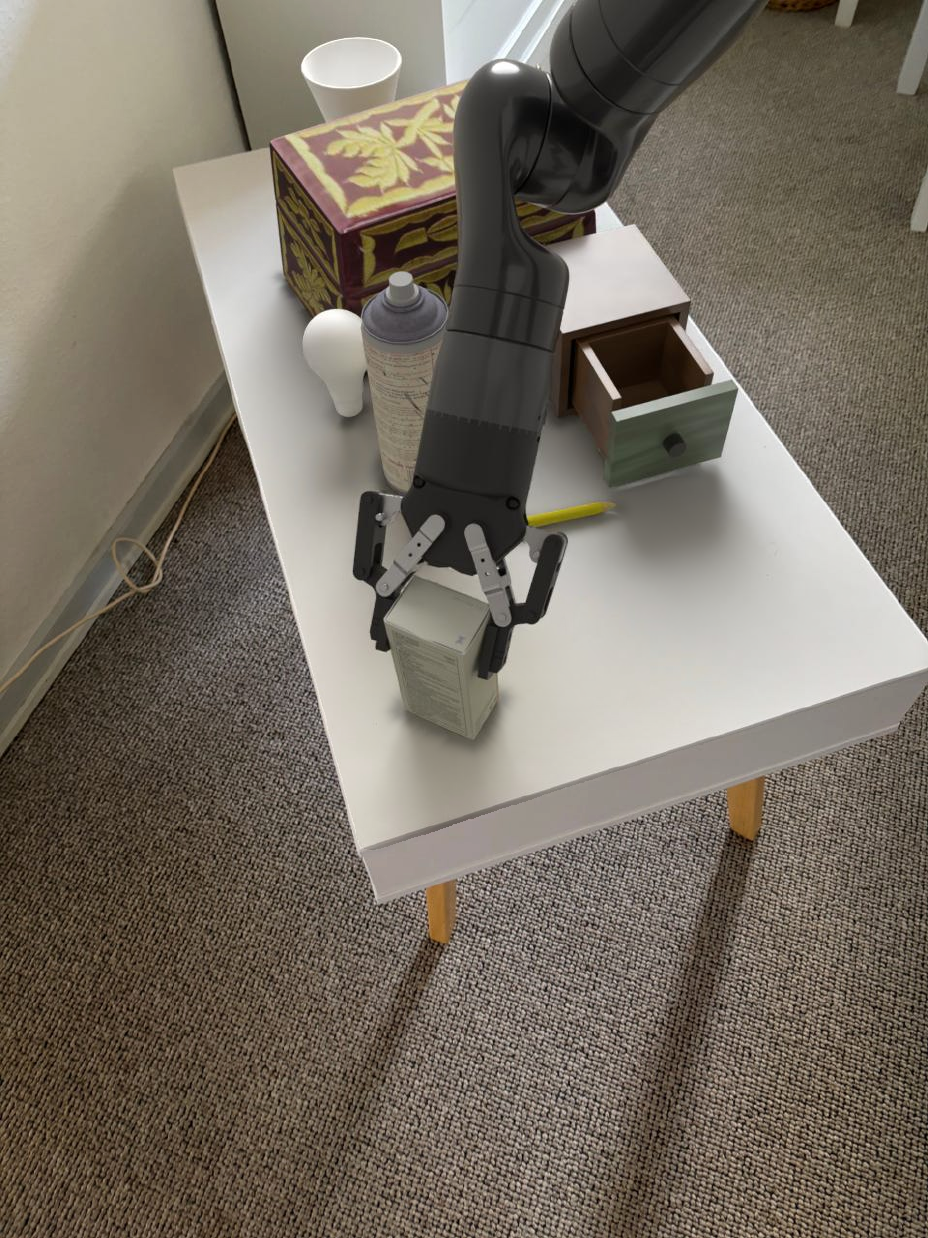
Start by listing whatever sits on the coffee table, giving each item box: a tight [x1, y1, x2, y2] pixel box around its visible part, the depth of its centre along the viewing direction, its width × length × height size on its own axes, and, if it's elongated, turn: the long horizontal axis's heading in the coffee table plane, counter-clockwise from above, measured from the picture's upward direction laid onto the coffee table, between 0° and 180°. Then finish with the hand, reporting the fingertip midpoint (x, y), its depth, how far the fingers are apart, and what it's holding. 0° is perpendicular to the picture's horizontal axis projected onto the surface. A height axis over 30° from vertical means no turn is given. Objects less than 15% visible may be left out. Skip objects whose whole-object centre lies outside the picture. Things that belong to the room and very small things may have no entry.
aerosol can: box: [361, 272, 448, 496], centre depth 79 cm, size 7×7×20 cm
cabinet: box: [545, 223, 692, 420], centre depth 90 cm, size 12×12×10 cm
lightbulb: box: [302, 309, 367, 418], centre depth 87 cm, size 6×6×11 cm
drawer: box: [571, 314, 739, 490], centre depth 84 cm, size 12×11×8 cm
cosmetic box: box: [384, 574, 500, 741], centre depth 68 cm, size 6×4×12 cm
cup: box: [300, 37, 403, 123], centre depth 107 cm, size 10×10×14 cm
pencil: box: [527, 501, 617, 528], centre depth 82 cm, size 16×1×1 cm, turn 103°
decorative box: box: [268, 77, 597, 376], centre depth 95 cm, size 28×19×15 cm
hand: (434, 662), depth 66 cm, fingers closed on cosmetic box, 6 cm apart
